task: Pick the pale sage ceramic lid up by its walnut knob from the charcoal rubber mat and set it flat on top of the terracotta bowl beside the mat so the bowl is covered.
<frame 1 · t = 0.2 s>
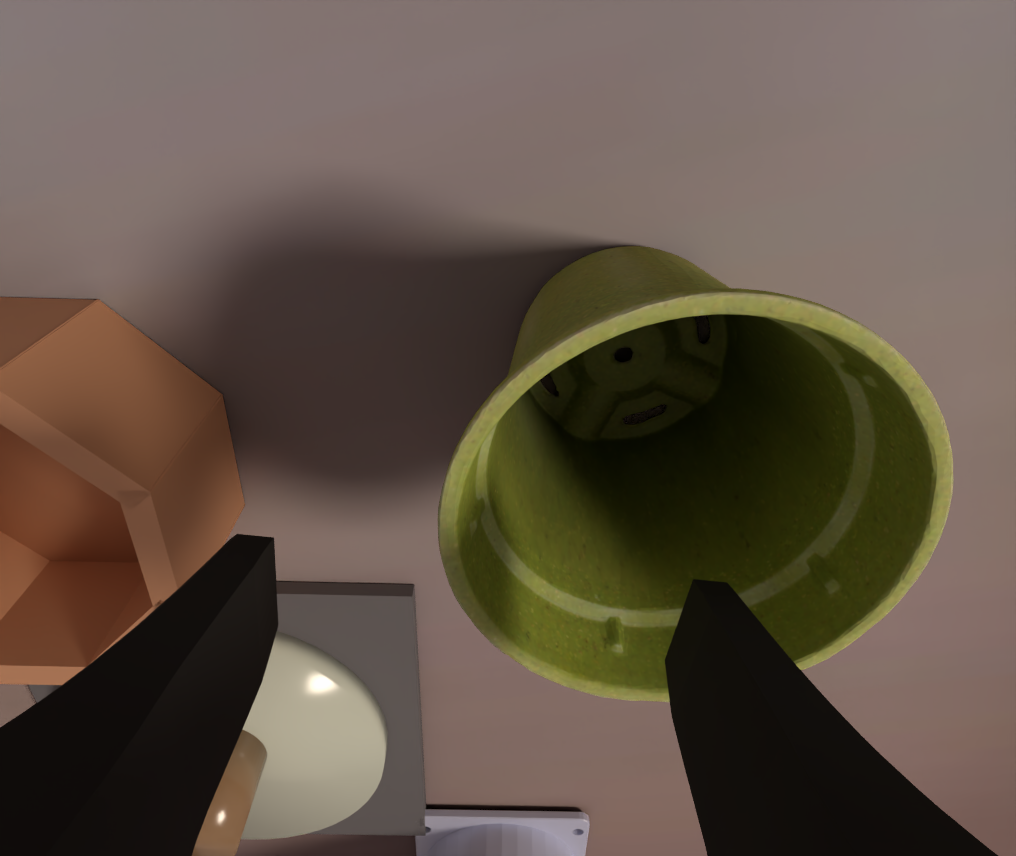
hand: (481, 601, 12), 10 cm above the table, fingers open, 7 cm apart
bowl: (75, 448, 22), on the table
mat: (239, 716, 29), on the table
plant pot: (623, 343, 21), on the table
lid: (234, 728, 28), point 1 cm above the table, touching mat
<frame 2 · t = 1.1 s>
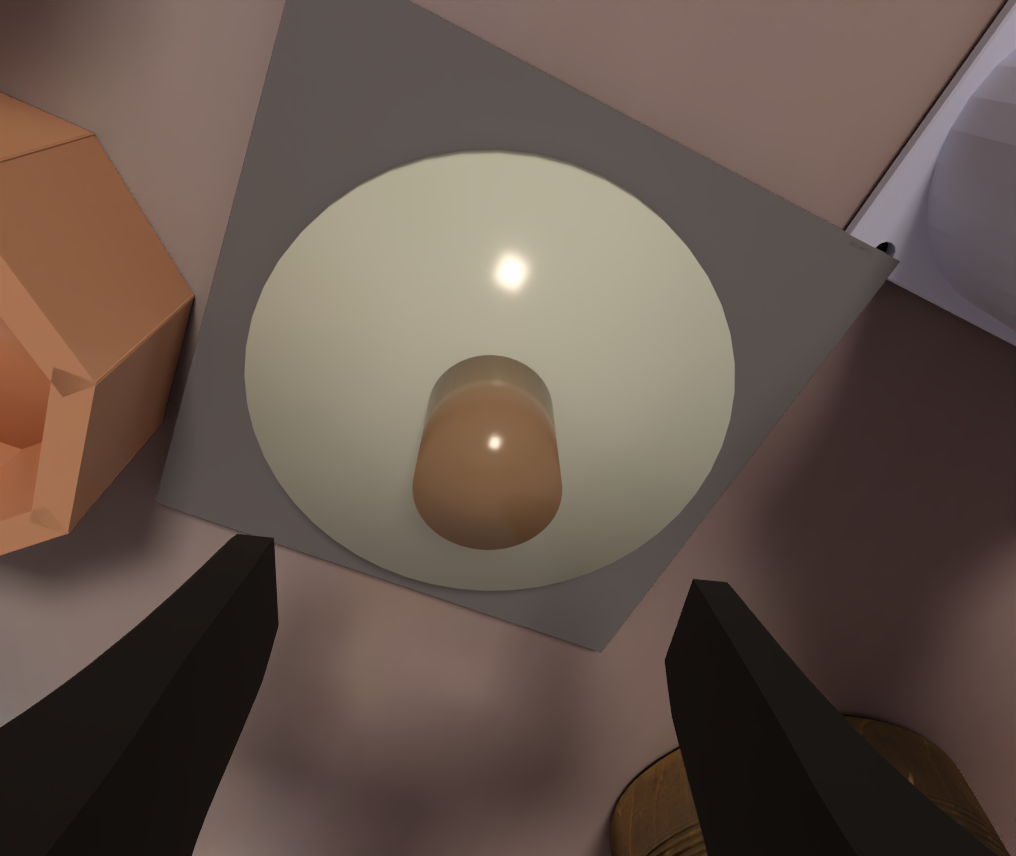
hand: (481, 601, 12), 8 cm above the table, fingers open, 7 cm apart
mat: (491, 383, 19), on the table
wooden container: (779, 816, 30), on the table
lid: (491, 393, 19), point 1 cm above the table, touching mat
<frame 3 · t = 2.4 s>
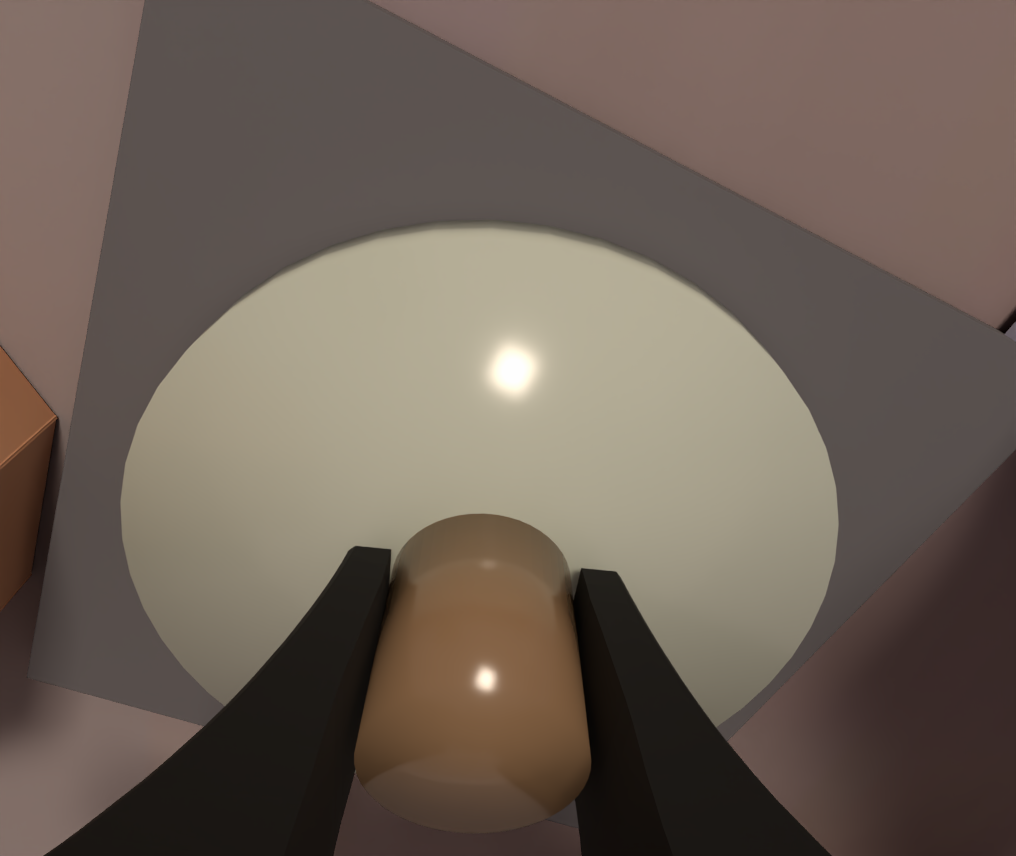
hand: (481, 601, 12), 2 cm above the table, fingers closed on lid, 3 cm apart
mat: (484, 528, 14), on the table
lid: (483, 548, 13), point 1 cm above the table, touching gripper, mat
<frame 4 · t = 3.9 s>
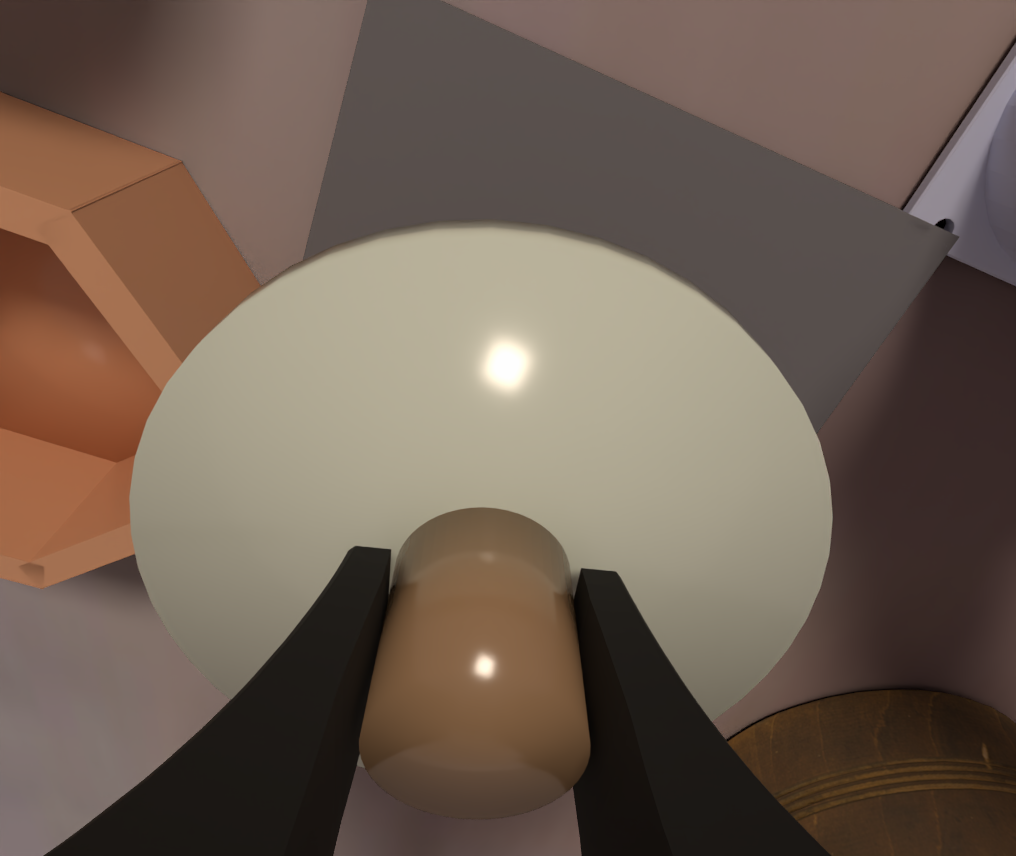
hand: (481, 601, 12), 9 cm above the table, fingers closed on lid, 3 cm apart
bowl: (77, 311, 19), on the table
mat: (558, 377, 20), on the table
wooden container: (848, 793, 31), on the table
lid: (484, 542, 14), point 7 cm above the table, touching gripper
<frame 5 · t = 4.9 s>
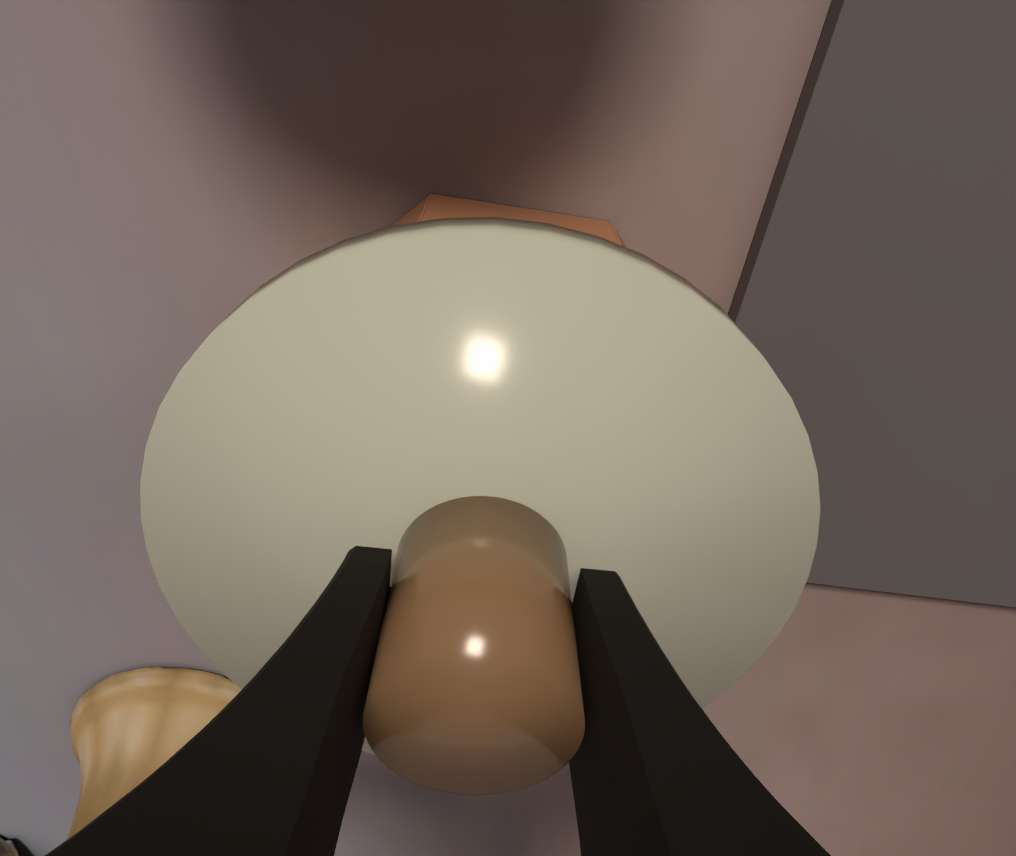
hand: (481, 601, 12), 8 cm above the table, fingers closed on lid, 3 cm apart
bowl: (491, 397, 19), on the table
hand bell: (193, 735, 26), on the table
mat: (1005, 363, 18), on the table
lid: (483, 531, 14), point 5 cm above the table, touching gripper
when the fingers open (7 cm above the table, at t = 5.3 s): lid stays where it is, resting on bowl.
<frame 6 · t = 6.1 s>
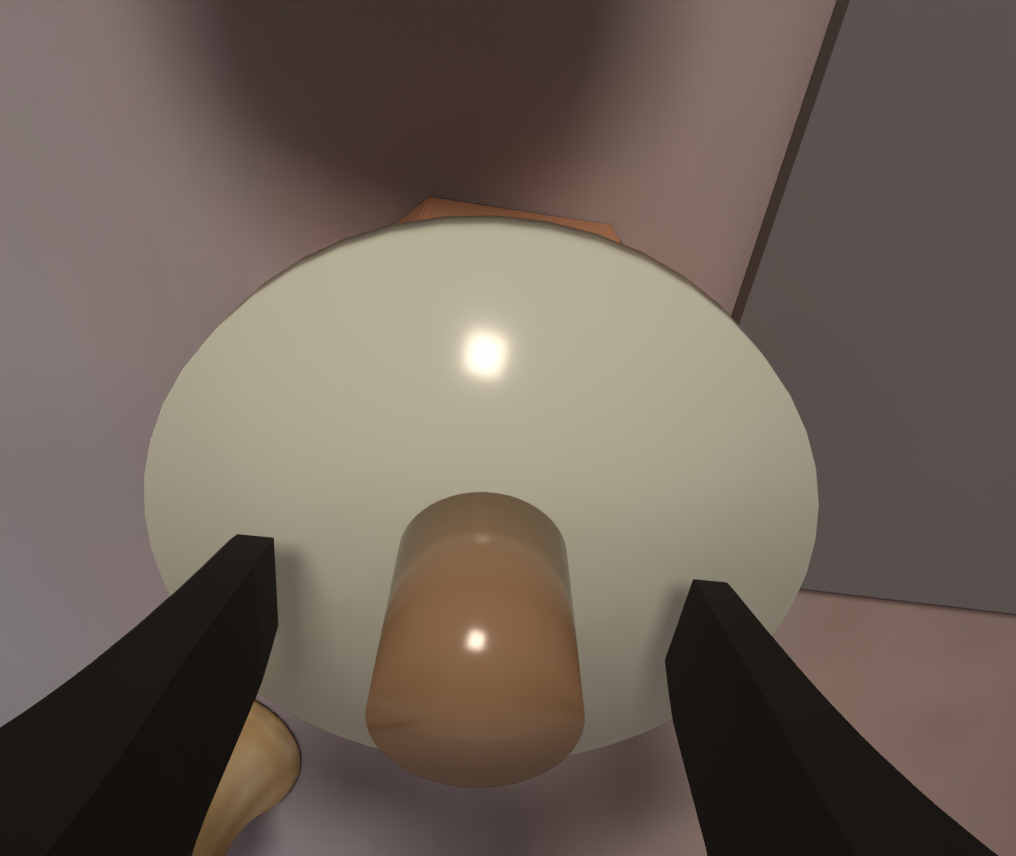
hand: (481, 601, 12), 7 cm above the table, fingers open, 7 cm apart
bowl: (490, 403, 18), on the table, touching lid
hand bell: (189, 743, 26), on the table
mat: (1012, 368, 18), on the table
lid: (484, 527, 14), point 5 cm above the table, touching bowl
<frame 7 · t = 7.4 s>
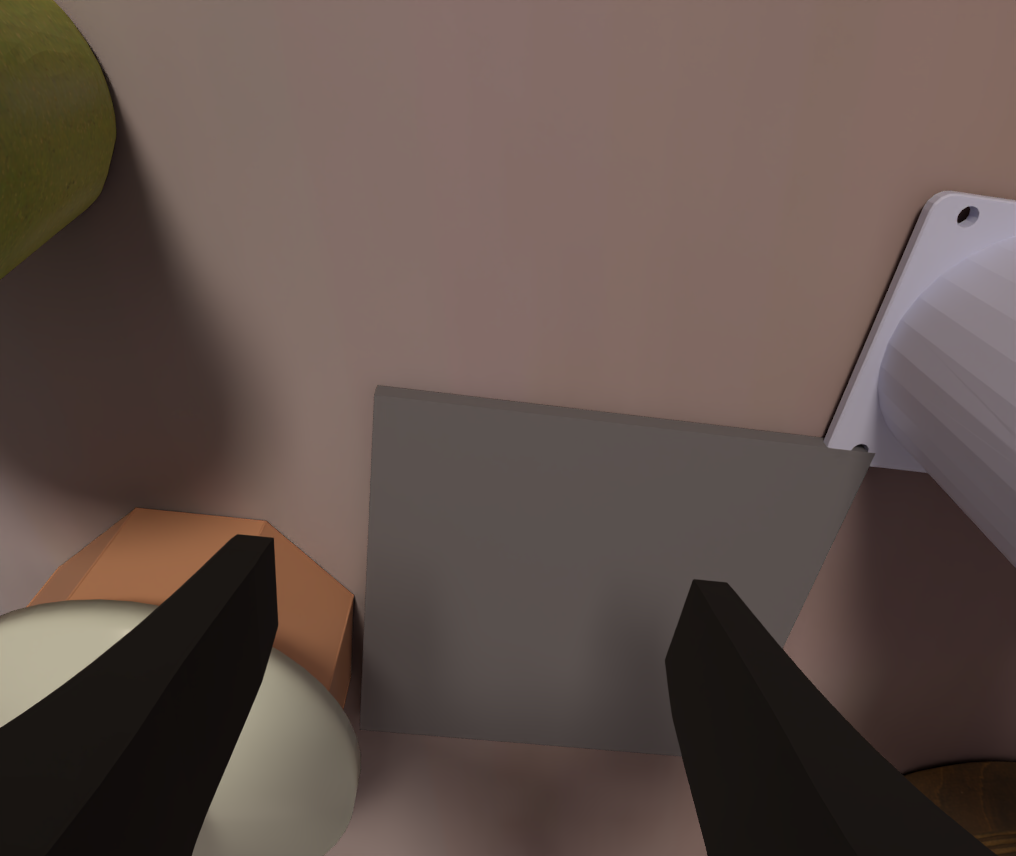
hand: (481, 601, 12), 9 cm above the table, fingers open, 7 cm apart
bowl: (213, 623, 25), on the table, touching lid
mat: (581, 597, 25), on the table
wooden container: (937, 847, 34), on the table
lid: (154, 750, 21), point 5 cm above the table, touching bowl
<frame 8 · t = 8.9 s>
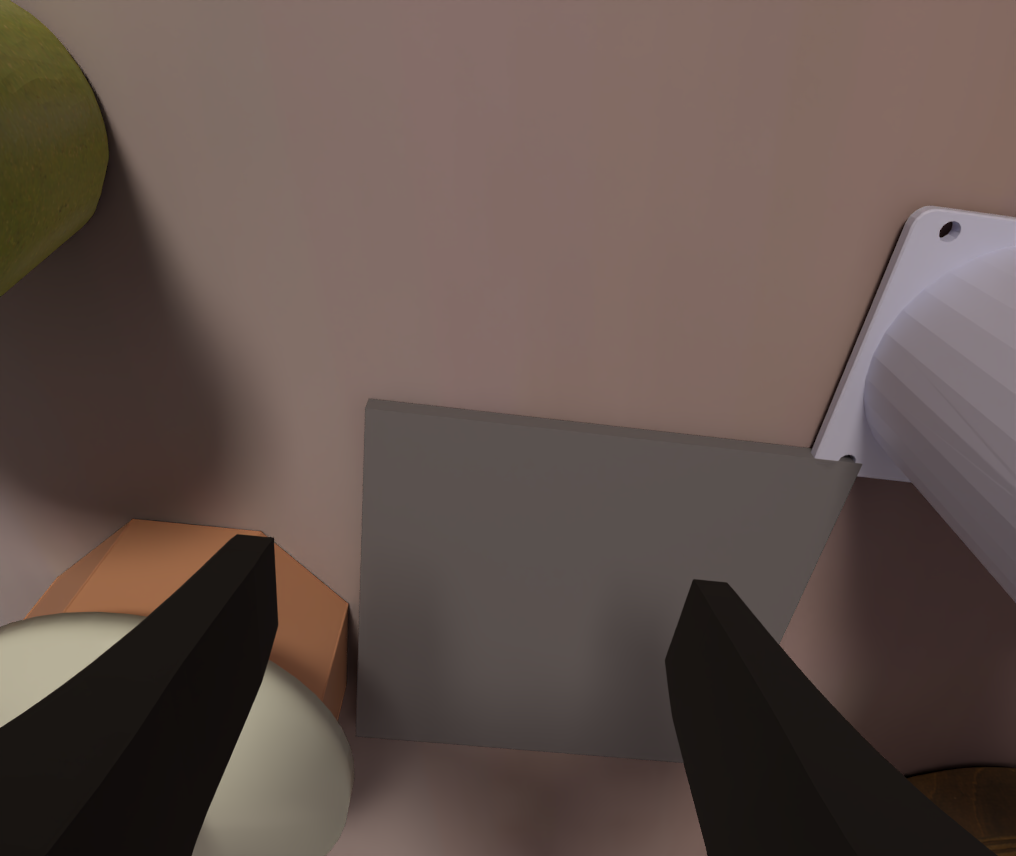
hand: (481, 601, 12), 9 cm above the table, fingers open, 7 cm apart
bowl: (210, 632, 26), on the table, touching lid
mat: (573, 605, 25), on the table
wooden container: (932, 852, 34), on the table
lid: (151, 758, 21), point 5 cm above the table, touching bowl
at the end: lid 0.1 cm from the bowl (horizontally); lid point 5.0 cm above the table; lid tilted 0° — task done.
